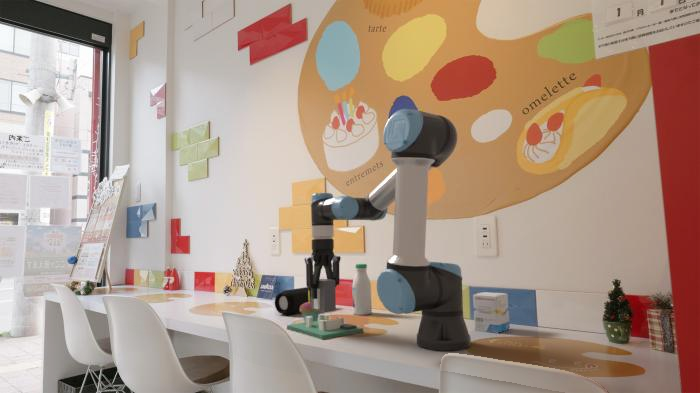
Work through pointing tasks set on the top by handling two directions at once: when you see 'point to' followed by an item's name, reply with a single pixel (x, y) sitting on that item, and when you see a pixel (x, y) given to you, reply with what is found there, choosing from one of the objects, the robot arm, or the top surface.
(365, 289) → the milk bottle
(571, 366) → the top surface
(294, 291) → the portable speaker
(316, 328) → the board
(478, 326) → the ink box
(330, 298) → the block
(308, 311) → the cupcake
